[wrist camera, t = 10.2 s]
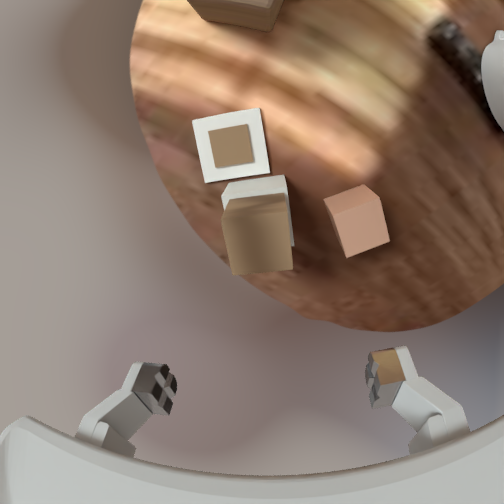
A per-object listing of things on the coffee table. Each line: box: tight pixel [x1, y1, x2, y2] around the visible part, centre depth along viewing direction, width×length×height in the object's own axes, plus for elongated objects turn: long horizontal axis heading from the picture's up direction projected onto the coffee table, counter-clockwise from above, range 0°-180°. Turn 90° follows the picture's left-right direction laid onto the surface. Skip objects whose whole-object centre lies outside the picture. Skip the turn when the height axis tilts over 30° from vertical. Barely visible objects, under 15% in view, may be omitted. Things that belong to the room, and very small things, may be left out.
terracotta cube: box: [323, 184, 390, 258], centre depth 28 cm, size 5×5×5 cm
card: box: [192, 108, 270, 183], centre depth 27 cm, size 7×7×1 cm
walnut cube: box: [221, 193, 293, 275], centre depth 24 cm, size 5×5×5 cm
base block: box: [221, 175, 294, 246], centre depth 28 cm, size 6×6×5 cm
